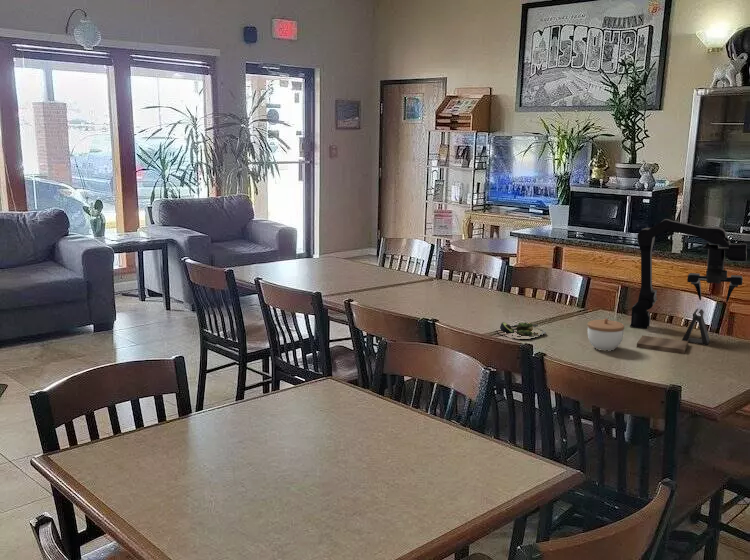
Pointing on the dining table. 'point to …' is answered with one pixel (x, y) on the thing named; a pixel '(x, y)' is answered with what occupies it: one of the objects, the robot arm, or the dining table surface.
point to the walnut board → (662, 344)
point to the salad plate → (520, 329)
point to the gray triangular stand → (703, 330)
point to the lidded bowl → (605, 334)
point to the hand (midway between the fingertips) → (713, 301)
